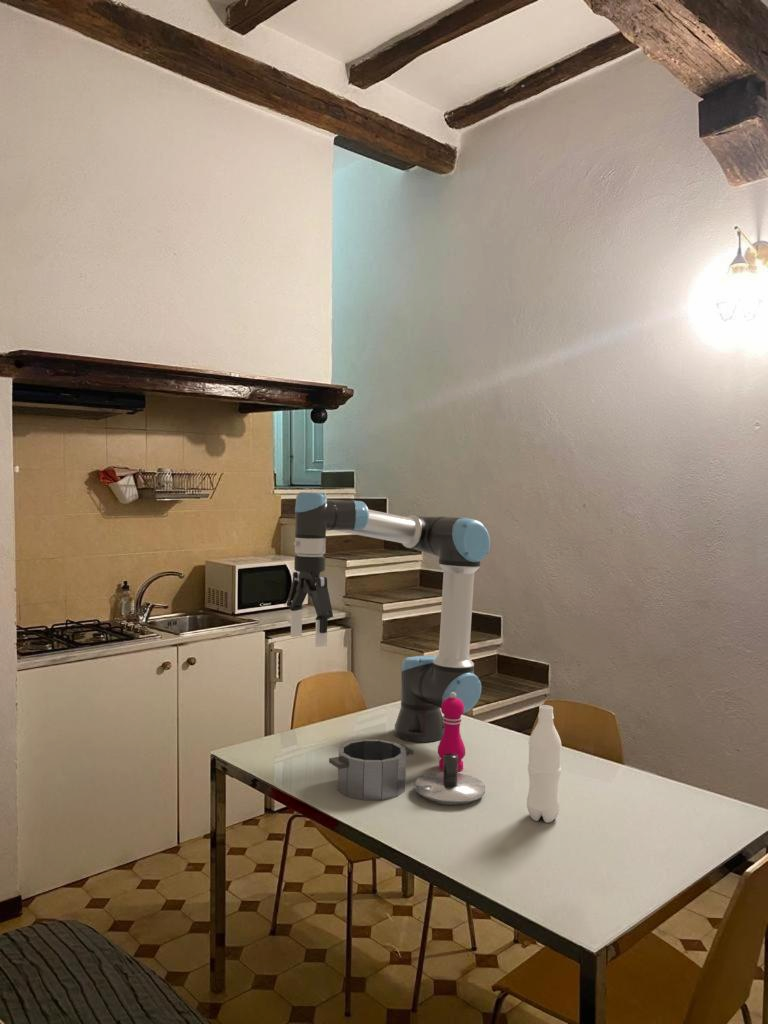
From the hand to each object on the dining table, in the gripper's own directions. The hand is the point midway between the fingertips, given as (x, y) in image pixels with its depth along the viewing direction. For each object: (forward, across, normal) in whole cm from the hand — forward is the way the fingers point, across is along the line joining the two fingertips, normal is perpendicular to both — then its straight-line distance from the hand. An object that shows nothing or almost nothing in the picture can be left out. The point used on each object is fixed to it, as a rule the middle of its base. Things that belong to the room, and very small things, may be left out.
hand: (308, 641), depth 195 cm
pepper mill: (+35, +11, +37) cm, 52 cm away
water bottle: (+35, +46, +36) cm, 68 cm away
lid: (+35, +25, +26) cm, 50 cm away
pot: (+34, +12, +12) cm, 38 cm away
